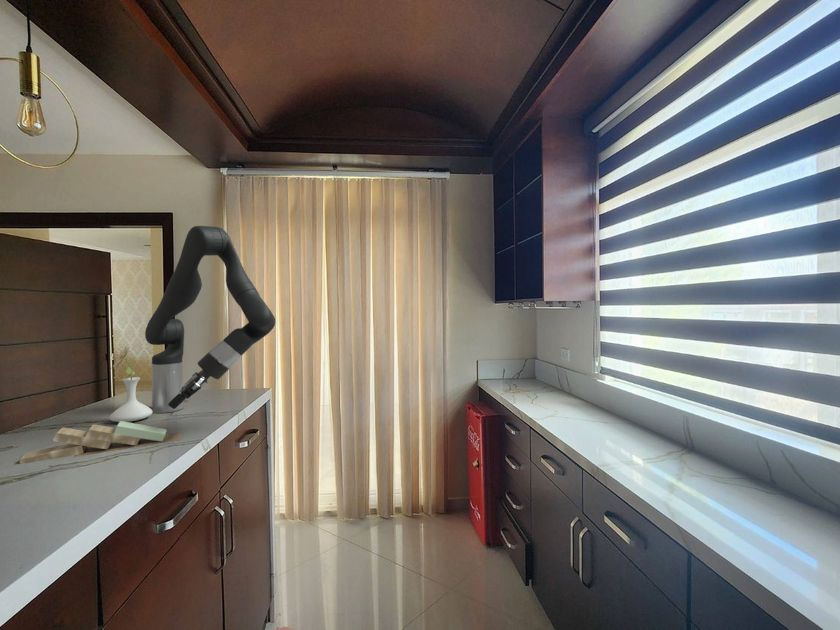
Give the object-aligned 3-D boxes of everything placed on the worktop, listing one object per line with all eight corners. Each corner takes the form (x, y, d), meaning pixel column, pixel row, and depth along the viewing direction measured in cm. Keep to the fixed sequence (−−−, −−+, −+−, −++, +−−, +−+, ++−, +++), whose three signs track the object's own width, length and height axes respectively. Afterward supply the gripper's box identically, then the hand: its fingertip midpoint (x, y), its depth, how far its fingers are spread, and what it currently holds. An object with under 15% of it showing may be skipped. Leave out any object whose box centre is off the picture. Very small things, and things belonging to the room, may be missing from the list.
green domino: (162, 441, 101) (113, 433, 96) (163, 436, 105) (116, 428, 100) (165, 434, 101) (117, 425, 96) (166, 429, 106) (120, 420, 100)
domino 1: (107, 449, 95) (52, 441, 90) (111, 443, 99) (58, 435, 94) (111, 441, 95) (56, 432, 90) (114, 435, 100) (62, 427, 94)
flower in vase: (115, 417, 127) (114, 344, 127) (156, 413, 132) (155, 342, 131) (102, 428, 115) (101, 348, 115) (147, 423, 120) (146, 346, 120)
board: (73, 460, 91) (73, 456, 91) (81, 451, 97) (81, 447, 97) (180, 443, 102) (180, 439, 102) (181, 436, 108) (181, 432, 108)
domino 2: (136, 445, 98) (85, 437, 93) (139, 439, 102) (89, 431, 97) (140, 438, 98) (88, 429, 93) (142, 432, 103) (93, 424, 97)
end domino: (82, 453, 92) (20, 467, 87) (87, 446, 97) (28, 460, 91) (81, 445, 92) (19, 459, 87) (86, 439, 97) (27, 452, 91)
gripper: (209, 349, 114) (161, 393, 108) (210, 353, 103) (157, 403, 97) (228, 364, 117) (183, 409, 111) (232, 370, 106) (181, 420, 100)
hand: (171, 406), depth 104 cm, fingers closed
